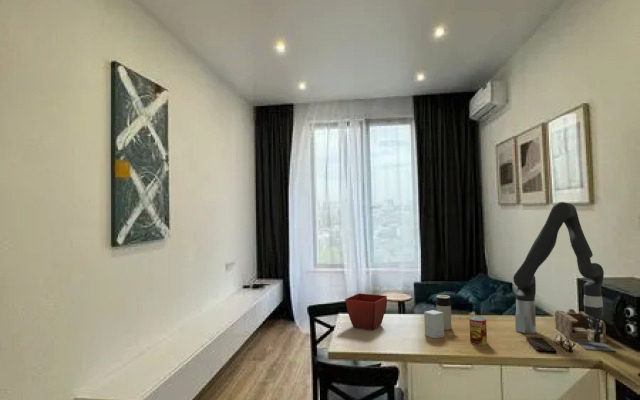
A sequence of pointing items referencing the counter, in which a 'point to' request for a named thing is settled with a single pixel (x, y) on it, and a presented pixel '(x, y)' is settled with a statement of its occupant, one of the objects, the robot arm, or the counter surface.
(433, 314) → the supplement box
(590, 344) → the station
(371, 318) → the plant pot
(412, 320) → the counter surface
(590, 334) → the block
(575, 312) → the vase
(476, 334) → the canned food
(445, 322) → the travel mug
